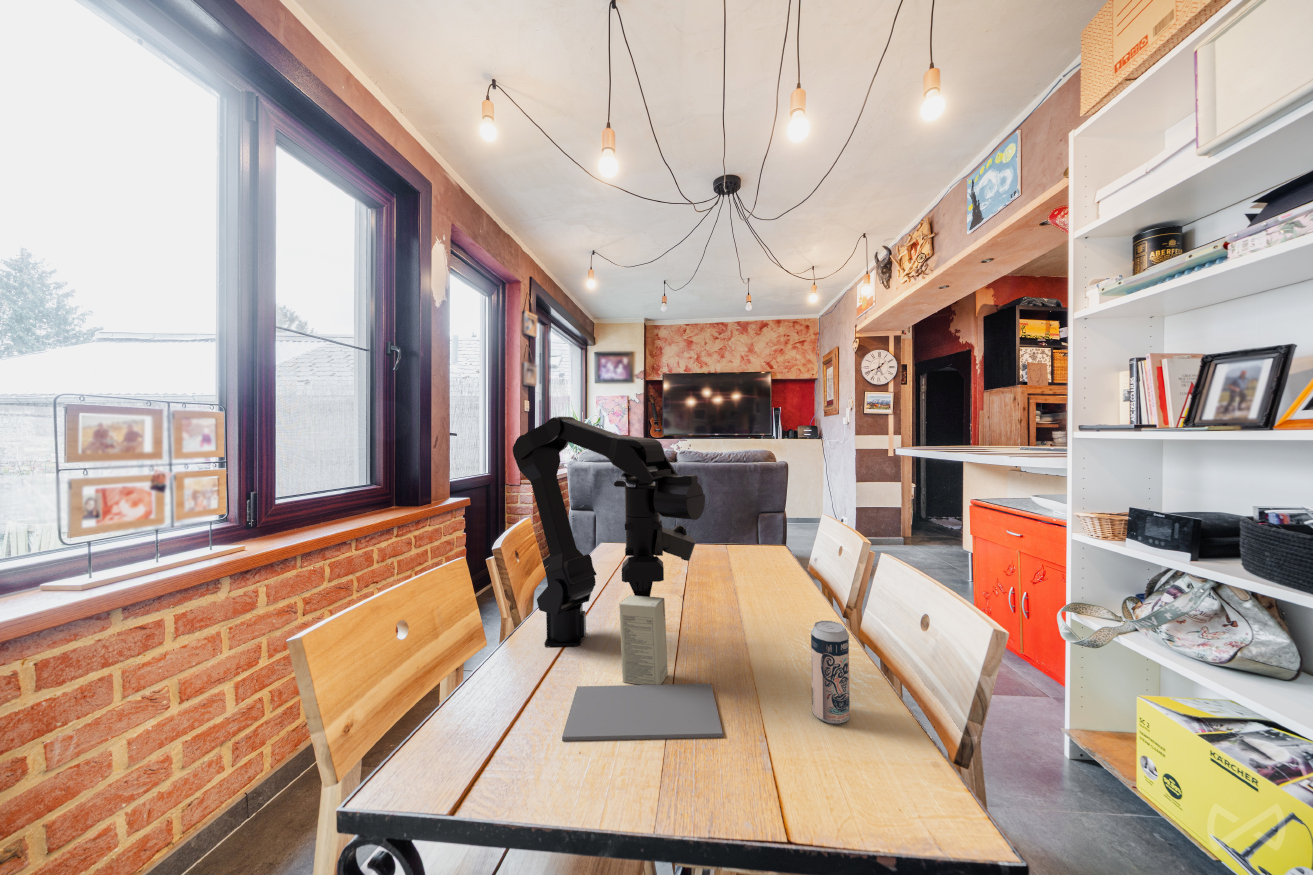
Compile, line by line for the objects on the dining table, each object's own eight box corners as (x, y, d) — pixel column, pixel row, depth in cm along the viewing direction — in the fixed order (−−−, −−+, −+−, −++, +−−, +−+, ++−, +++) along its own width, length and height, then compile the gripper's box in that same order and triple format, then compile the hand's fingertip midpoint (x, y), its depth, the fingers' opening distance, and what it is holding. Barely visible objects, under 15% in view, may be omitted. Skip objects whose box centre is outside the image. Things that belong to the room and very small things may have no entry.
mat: (562, 740, 60) (562, 736, 60) (577, 689, 72) (577, 686, 72) (722, 737, 60) (722, 733, 60) (711, 686, 72) (711, 683, 72)
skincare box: (668, 674, 76) (667, 597, 76) (659, 688, 72) (658, 606, 72) (630, 668, 78) (629, 593, 78) (619, 681, 74) (618, 602, 74)
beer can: (832, 730, 61) (830, 636, 61) (804, 711, 65) (803, 623, 65) (858, 720, 63) (857, 628, 63) (829, 702, 68) (828, 616, 67)
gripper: (697, 524, 70) (698, 630, 70) (687, 505, 89) (688, 589, 89) (620, 525, 70) (622, 632, 70) (626, 506, 89) (628, 591, 89)
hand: (644, 609), depth 80 cm, fingers closed
